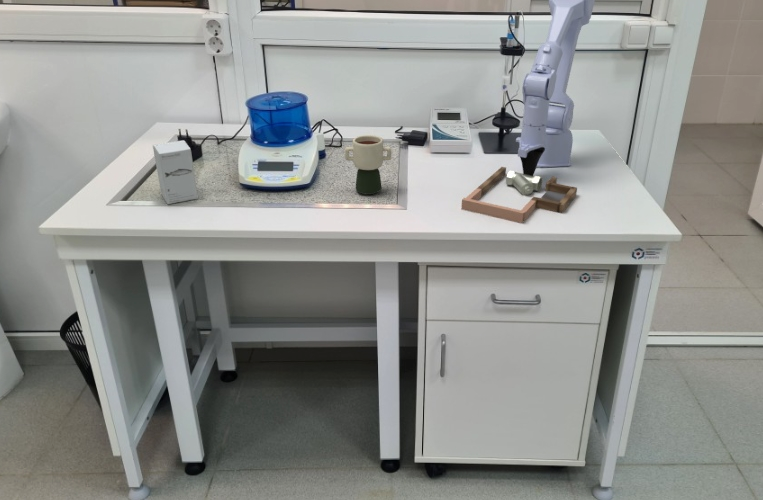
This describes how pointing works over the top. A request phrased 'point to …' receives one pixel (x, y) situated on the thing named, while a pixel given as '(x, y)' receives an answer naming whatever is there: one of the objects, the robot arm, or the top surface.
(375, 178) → the character mug
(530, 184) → the pipe fitting
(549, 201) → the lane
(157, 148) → the supplement box
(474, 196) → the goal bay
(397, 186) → the top surface
